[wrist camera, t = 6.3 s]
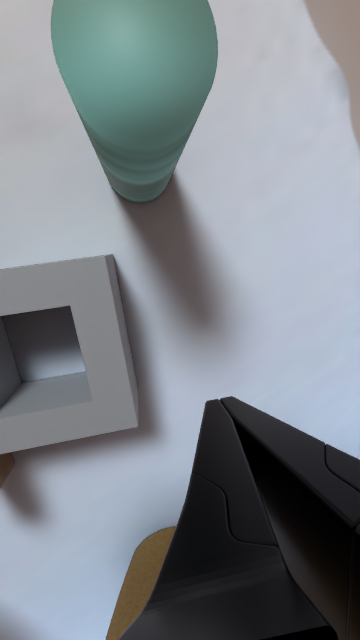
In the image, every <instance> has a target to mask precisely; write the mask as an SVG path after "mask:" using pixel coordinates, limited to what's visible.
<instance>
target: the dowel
mask: <svg viewBox="0 0 360 640" xmlns="http://www.w3.org/2000/svg"><path fill="white" fill-rule="evenodd" d="M51 38H52V45H53V51H54V55H55V59H56V63H57V66H58V68H59V71H60V74H61V76H62V78H63V81H64V83H65V85H66V87H67V90H68V92H69V94H70V96H71V98H72V101H73V103H74V105H75V107H76V110H77V112H78V114H79V116H80V118H81V121H82V123H83V125H84V127H85V130H86V132H87V134H88V136H89V138H90V141H91V143H92V145H93V147H94V150H95V152H96V154H97V156H98V158H99V161H100V163H101V165H102V167H103V170H104V172H105V174H106V176H107V178H108V181H109V183H110V185H111V186H112V188H113V189H114V190H115V191H116V192H117V193H118V194H119V195H120V196H121V197H123V198H124V199H126V200H128V201H131V202H135V203H145V202H149V201H152V200H154V199H156V198H157V197H158V196H160V195H161V194H162V192H163V191H164V190H165V188H166V187H167V184H168V182H169V180H170V178H171V176H172V173H173V171H174V169H175V167H176V165H177V162H178V160H179V158H180V156H181V154H182V151H183V149H184V147H185V145H186V143H187V140H188V138H189V136H190V134H191V132H192V129H193V127H194V125H195V123H196V121H197V118H198V116H199V114H200V112H201V110H202V107H203V105H204V103H205V101H206V99H207V96H208V94H209V92H210V90H211V87H212V84H213V81H214V78H215V73H216V67H217V58H218V41H217V33H216V26H215V22H214V18H213V14H212V11H211V8H210V5H209V3H208V1H207V0H54V2H53V7H52V15H51Z"/></svg>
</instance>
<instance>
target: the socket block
mask: <svg viewBox="0 0 360 640" xmlns="http://www.w3.org/2000/svg"><path fill="white" fill-rule="evenodd" d="M63 306H70V307H71V311H72V316H73V320H74V324H75V328H76V332H77V337H78V341H79V345H80V349H81V353H82V358H83V362H84V366H85V370H86V372H80V373H75V374H69V375H63V376H58V377H52V378H46V379H40V380H35V381H29V382H23V383H22V382H21V379H20V375H19V372H18V369H17V366H16V362H15V359H14V356H13V353H12V349H11V346H10V343H9V340H8V336H7V333H6V330H5V327H4V323H3V320H2V317H1V316H3V315H10V314H17V313H23V312H30V311H37V310H43V309H50V308H57V307H63ZM135 427H138V386H137V381H136V376H135V370H134V365H133V360H132V354H131V349H130V344H129V338H128V333H127V328H126V322H125V317H124V311H123V306H122V301H121V295H120V290H119V285H118V279H117V274H116V269H115V263H114V258H113V254H111V255H103V256H96V257H88V258H81V259H73V260H66V261H58V262H51V263H44V264H36V265H29V266H21V267H14V268H6V269H0V454H4V453H9V452H14V451H19V450H24V449H29V448H34V447H39V446H44V445H49V444H54V443H59V442H64V441H69V440H74V439H79V438H84V437H90V436H95V435H100V434H105V433H110V432H115V431H120V430H125V429H130V428H135Z"/></svg>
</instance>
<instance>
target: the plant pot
mask: <svg viewBox="0 0 360 640" xmlns="http://www.w3.org/2000/svg"><path fill="white" fill-rule="evenodd" d="M175 529H176V527H170V528H166V529H162V530H160V531H157V532H155V533H153V534H152V535H150V536H149V537H147V538H146V539H145V540H144V541H143V542H142V543H141V544H140V545H139V546H138V547H137V549H136V550H135V552H134V555H133V557H132V560H131V562H130V565H129V568H128V571H127V573H126V576H125V579H124V582H123V585H122V588H121V591H120V594H119V597H118V600H117V603H116V607H115V610H114V613H113V616H112V619H111V623H110V626H109V629H108V633H107V636H106V640H117V639H118V638H119V637H120V636H121V635H122V634H123V633H124V631H125V630H126V629H127V628H128V627H129V626H130V625H131V623H132V622H133V621H134V620H135V619H136V618H137V616H138V615H139V614H140V612H141V611H142V609H143V608H144V606H145V604H146V602H147V601H148V599H149V597H150V594H151V592H152V590H153V588H154V585H155V583H156V580H157V578H158V575H159V572H160V570H161V567H162V564H163V562H164V559H165V556H166V553H167V551H168V548H169V545H170V543H171V540H172V537H173V535H174V532H175Z"/></svg>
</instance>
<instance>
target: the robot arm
mask: <svg viewBox="0 0 360 640" xmlns="http://www.w3.org/2000/svg"><path fill="white" fill-rule="evenodd" d="M117 640H360V460H359V459H357V458H355V457H353V456H351V455H349V454H347V453H345V452H343V451H340V450H338V449H336V448H334V447H332V446H330V445H328V444H326V445H325V443H324V442H322V441H320V440H318V439H316V438H314V437H312V436H310V435H308V434H306V433H304V432H302V431H300V430H298V429H296V428H294V427H292V426H290V425H288V424H286V423H284V422H282V421H280V420H278V419H276V418H274V417H272V416H270V415H268V414H266V413H264V412H262V411H260V410H258V409H256V408H254V407H252V406H250V405H248V404H246V403H244V402H242V401H240V400H238V399H237V398H235V397H232V396H230V397H225V398H221V399H220V400H219V399H215V400H209V401H206V403H205V408H204V413H203V418H202V423H201V428H200V433H199V438H198V443H197V448H196V453H195V458H194V463H193V468H192V474H191V477H190V482H189V487H188V491H187V495H186V499H185V503H184V506H183V509H182V512H181V515H180V518H179V521H178V524H177V526H176V529H175V532H174V535H173V537H172V540H171V543H170V545H169V548H168V551H167V553H166V556H165V559H164V562H163V564H162V567H161V570H160V572H159V575H158V578H157V580H156V583H155V585H154V588H153V590H152V592H151V594H150V597H149V599H148V601H147V602H146V604H145V606H144V608H143V609H142V611H141V612H140V614H139V615H138V616H137V618H136V619H135V620H134V621H133V622H132V623H131V625H130V626H129V627H128V628H127V629H126V630H125V631H124V633H123V634H122V635H121V636H120V637H119V638H118V639H117Z"/></svg>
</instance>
